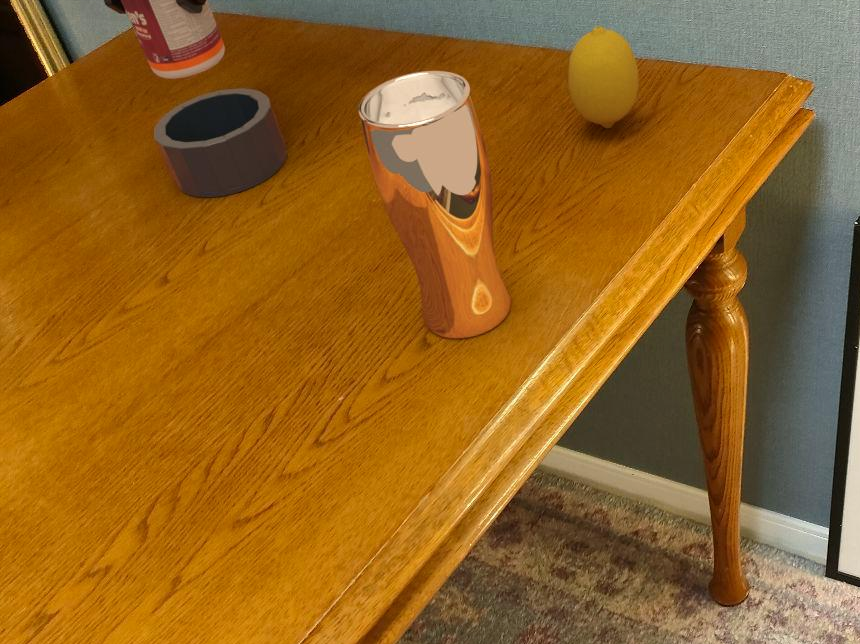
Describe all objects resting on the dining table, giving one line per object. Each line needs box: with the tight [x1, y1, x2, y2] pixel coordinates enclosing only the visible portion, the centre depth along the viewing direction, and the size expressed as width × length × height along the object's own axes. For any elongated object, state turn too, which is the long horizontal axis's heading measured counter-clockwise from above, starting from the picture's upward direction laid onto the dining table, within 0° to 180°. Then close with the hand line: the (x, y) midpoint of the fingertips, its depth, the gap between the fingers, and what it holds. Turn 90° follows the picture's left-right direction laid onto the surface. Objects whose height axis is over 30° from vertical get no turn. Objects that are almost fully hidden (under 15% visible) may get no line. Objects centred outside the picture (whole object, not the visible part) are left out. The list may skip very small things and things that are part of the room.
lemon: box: [567, 25, 640, 129], centre depth 79 cm, size 6×6×8 cm
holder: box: [153, 87, 288, 198], centre depth 86 cm, size 10×10×4 cm
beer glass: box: [358, 70, 512, 340], centre depth 63 cm, size 7×7×15 cm
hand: (152, 9), depth 76 cm, fingers closed on pill bottle, 6 cm apart
